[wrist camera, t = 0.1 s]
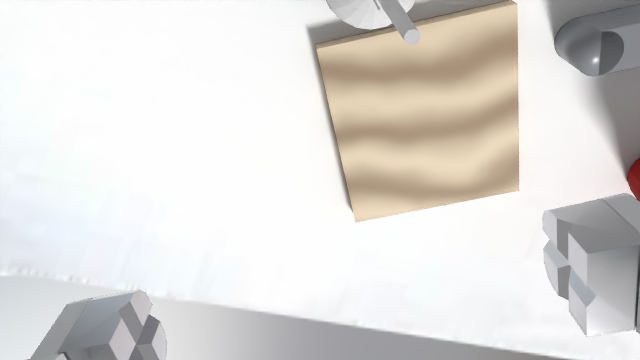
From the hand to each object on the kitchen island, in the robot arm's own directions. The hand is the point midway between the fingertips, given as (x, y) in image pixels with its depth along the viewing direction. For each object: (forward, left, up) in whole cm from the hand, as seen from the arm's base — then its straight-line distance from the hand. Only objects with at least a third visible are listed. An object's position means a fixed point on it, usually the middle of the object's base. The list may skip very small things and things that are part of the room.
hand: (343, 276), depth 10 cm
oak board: (+17, +8, -39) cm, 43 cm away
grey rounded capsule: (+12, +26, -39) cm, 48 cm away
